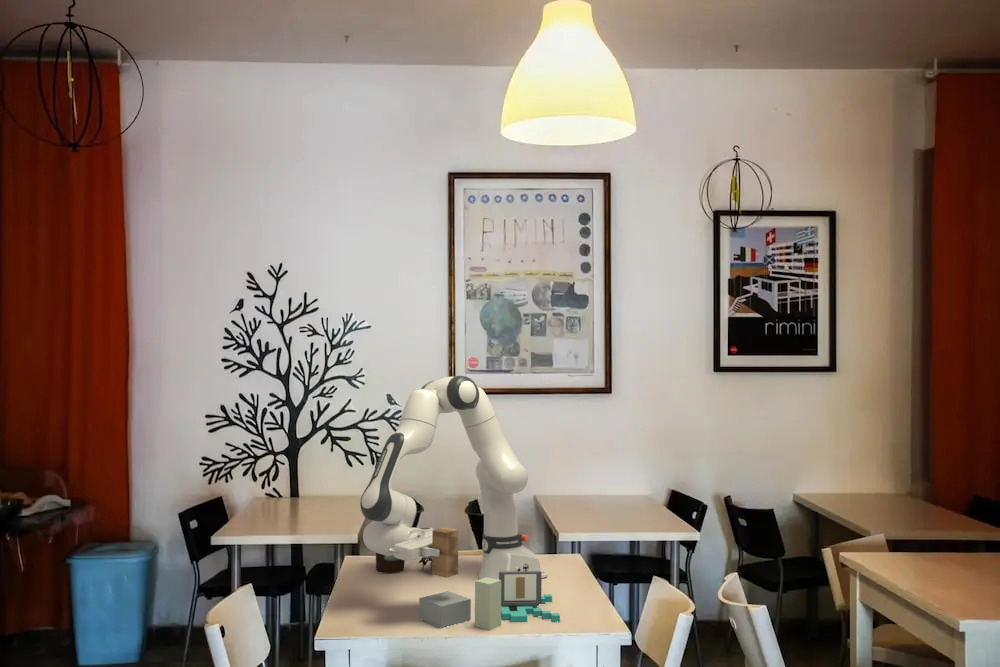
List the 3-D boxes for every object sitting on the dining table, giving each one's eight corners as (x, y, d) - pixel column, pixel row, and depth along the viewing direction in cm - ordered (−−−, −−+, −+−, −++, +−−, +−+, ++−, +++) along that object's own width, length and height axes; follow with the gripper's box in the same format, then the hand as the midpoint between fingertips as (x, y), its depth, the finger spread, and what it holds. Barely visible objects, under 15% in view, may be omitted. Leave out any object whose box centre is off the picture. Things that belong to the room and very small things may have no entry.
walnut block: (444, 570, 231) (444, 527, 231) (458, 573, 228) (458, 529, 228) (432, 574, 227) (432, 530, 227) (446, 577, 224) (446, 532, 224)
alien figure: (551, 601, 245) (483, 602, 244) (551, 594, 245) (483, 595, 244) (559, 623, 225) (486, 624, 224) (559, 615, 225) (486, 616, 224)
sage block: (486, 621, 225) (486, 577, 226) (501, 625, 222) (501, 580, 223) (474, 626, 221) (475, 581, 222) (489, 630, 218) (490, 584, 219)
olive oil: (370, 567, 281) (371, 493, 282) (400, 564, 286) (401, 491, 286) (379, 575, 272) (379, 498, 272) (410, 572, 276) (410, 496, 277)
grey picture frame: (539, 599, 239) (539, 568, 239) (541, 605, 234) (541, 572, 234) (498, 600, 238) (498, 568, 238) (499, 605, 233) (499, 573, 233)
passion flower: (441, 589, 275) (438, 565, 268) (412, 580, 279) (408, 556, 272) (456, 563, 284) (453, 540, 277) (427, 555, 287) (424, 531, 281)
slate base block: (447, 612, 234) (448, 591, 234) (470, 621, 226) (470, 599, 226) (419, 620, 227) (419, 598, 227) (441, 629, 220) (441, 606, 220)
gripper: (384, 539, 227) (422, 546, 218) (433, 526, 243) (470, 532, 235) (384, 562, 226) (422, 570, 218) (433, 548, 243) (470, 555, 235)
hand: (447, 550), depth 227 cm, fingers closed on walnut block, 5 cm apart
